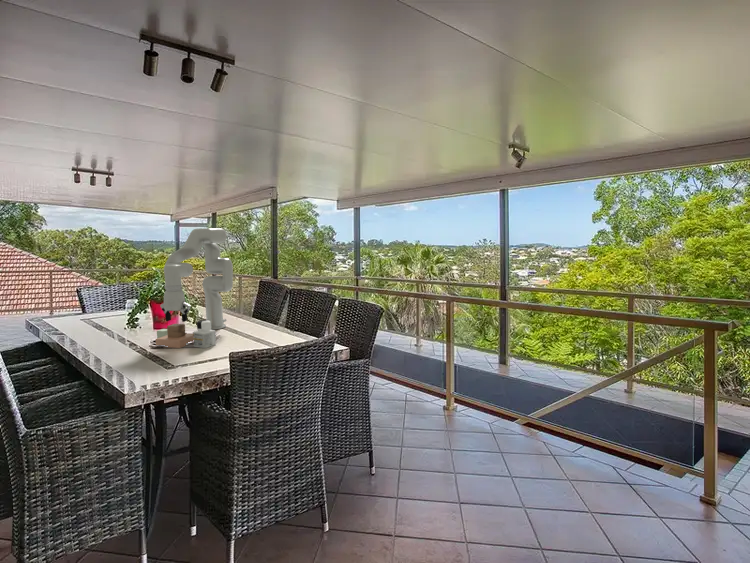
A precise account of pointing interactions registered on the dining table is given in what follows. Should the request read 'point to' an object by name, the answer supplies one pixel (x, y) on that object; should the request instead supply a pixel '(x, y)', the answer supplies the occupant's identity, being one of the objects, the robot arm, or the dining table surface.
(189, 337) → the plinth
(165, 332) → the sage block
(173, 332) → the walnut block
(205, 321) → the container
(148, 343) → the dining table surface
